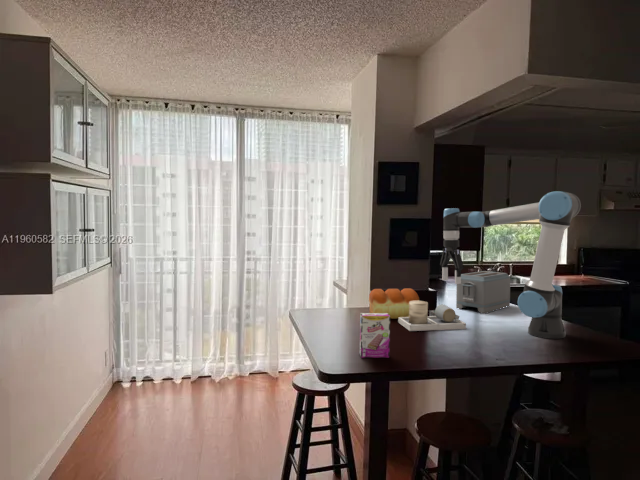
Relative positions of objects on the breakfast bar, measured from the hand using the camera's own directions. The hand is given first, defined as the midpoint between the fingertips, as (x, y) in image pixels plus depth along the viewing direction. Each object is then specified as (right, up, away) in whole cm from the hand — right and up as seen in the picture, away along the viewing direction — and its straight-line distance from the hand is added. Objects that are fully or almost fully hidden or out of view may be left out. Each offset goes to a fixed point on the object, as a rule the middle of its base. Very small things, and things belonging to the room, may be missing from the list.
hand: (451, 281), depth 216 cm
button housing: (-2, -21, +13) cm, 25 cm away
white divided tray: (-11, -22, -2) cm, 24 cm away
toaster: (+30, -20, +40) cm, 54 cm away
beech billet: (-17, -20, -3) cm, 26 cm away
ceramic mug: (-2, -19, -1) cm, 19 cm away
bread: (-26, -21, +20) cm, 38 cm away
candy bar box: (-45, -24, -50) cm, 71 cm away
